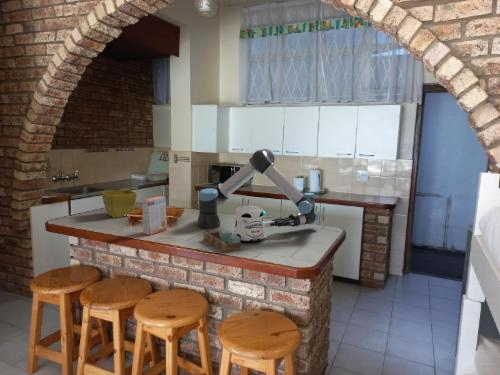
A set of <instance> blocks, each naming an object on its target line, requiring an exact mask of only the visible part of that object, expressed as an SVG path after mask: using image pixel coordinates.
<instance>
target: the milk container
mask: <svg viewBox="0 0 500 375" xmlns="http://www.w3.org/2000/svg"><path fill="white" fill-rule="evenodd" d="M263 211H264V208H263V207H262V206H257V205H241V206H237V207H236V208H235V225H234V228H233V234H234V235H233V236H235V235H236V236H238V237H240V242H244V243H245V242H246V243H253V242H259V241H261V240H263V239H264V237H265V234H266V232H265V230H266V229H265V227H264V225H263V221H264V217H263Z"/></svg>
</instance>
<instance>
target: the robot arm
mask: <svg viewBox="0 0 500 375" xmlns="http://www.w3.org/2000/svg"><path fill="white" fill-rule="evenodd" d="M275 161H276V158H275V154H274V153H273V151H271V150H270V149H267V148H263V149H262V148H261V149H259V150H256V151H255V152H253V154H252V155H251V157H249V160H248V163H247V164H245V165H244V166H243V167H242V168H240V169H239V170H238V171H237V172H235V173H234V174H233V175H232V176H230V177H229V178H228V179H227V180H226V181H224V182H223V183H219V184H217V185H215V187H213V188H210V187H209V188H203V189H201V190H200V191H199V193H198V207H199V208H198V211H199V212H198V217H197V220H196V227H197V228H198V229H199V228H200V229H206V230H207V229H217V228H219V227H221V221H220V218H219V214H218V213H219V212H218V207H219V206H221V205H223V204H225V203H226V201H227V200H229V199H230V198H231V196H232V194H233V193H234V192H235V191H236V190H237V189H239V188H241V186H243V185H244V184H246V183H247V182H248V181H249V180H251V178H253V177H254V176H255V175H257V174H261V175H262V176H266V178H267V179H268V180H270V181H271V182H272V183H273V185H275V186H276V187H277V188H278V190H280V191H281V192H282V193H283V195H285V196H286V197H287V198H288V199H289V200H290V201H291V202H292V203H293V204H294V205H295V206H296V207H297V209H298V211H299V212H298V213H297V212H296V213H291V214H289V215H288V217H287V216H286V217H284V218H283V217H282V216H280V217H278V218H274V219H272V220H271V221H264V228H271V227H278V228H280V227H293V228H294V227H301V226H303V225H304V226H305V225H311V224H315V223H317V222H318V220H319V216H318V213H317V212H316V211H315V206H316V194H315V193H313V192H305V193H302V192H301V191H300V190H299V189H298V188H297V187H296V186H295V185H294V184H293V183H292V182H291V181H290V180H289V179H288V177H286V176H285V175H284V174H283V173H282V172H280V170H279V169H277V167H275Z"/></svg>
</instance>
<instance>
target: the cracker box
mask: <svg viewBox="0 0 500 375" xmlns="http://www.w3.org/2000/svg"><path fill="white" fill-rule="evenodd" d="M166 206H167V204H166V196H161V195H159V196H154V197H148V198H145V199H141V211H142V212H141V213H142V231H143V235H147V236H152V235H156V234H158V233H161V232H165V231H167V225H168V224H167V207H166Z"/></svg>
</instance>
